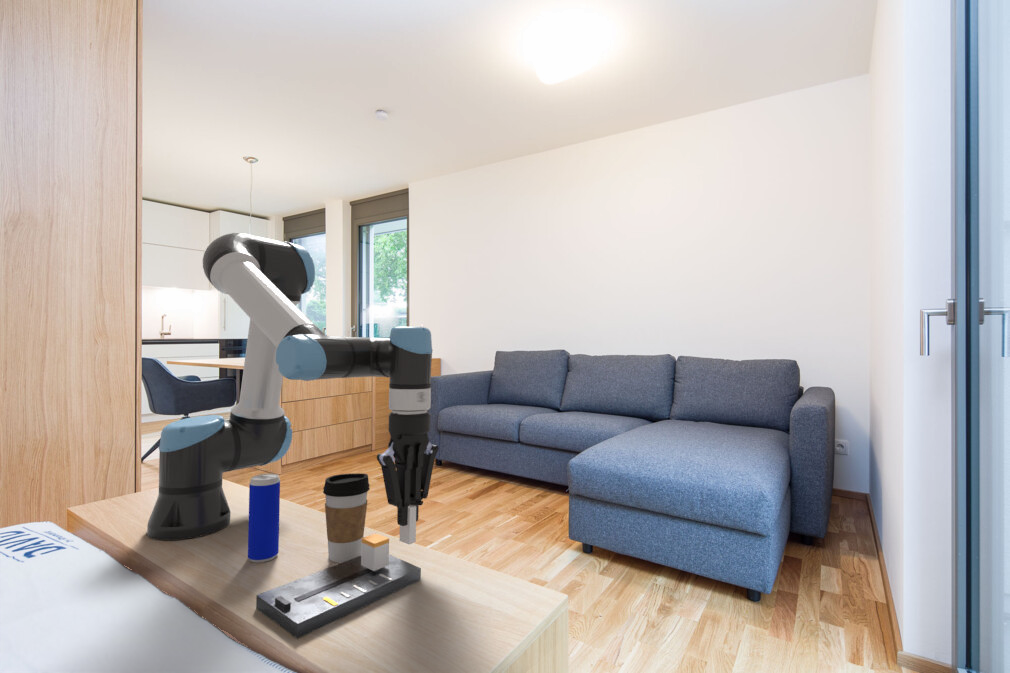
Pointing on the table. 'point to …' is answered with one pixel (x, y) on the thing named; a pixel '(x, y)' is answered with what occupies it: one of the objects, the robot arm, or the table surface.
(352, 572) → the panel
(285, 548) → the table surface
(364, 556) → the fader tab
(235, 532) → the table surface
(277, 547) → the beverage can
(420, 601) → the table surface
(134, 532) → the table surface
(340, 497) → the coffee cup
